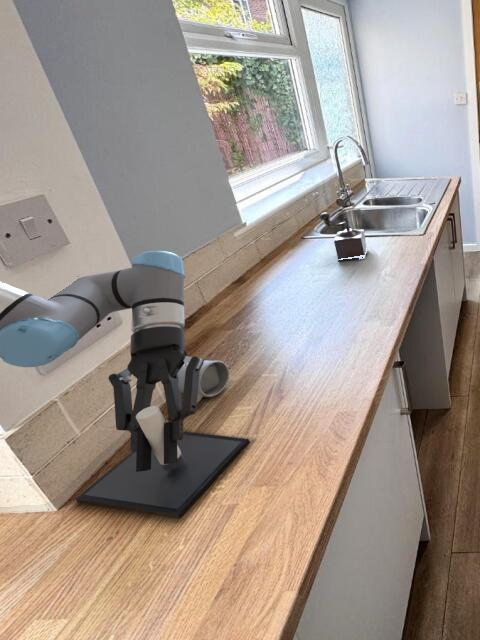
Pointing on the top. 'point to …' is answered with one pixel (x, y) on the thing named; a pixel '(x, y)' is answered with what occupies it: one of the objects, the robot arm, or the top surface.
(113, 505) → the tablet
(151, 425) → the light grey elongated piece
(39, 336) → the robot arm
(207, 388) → the ceramic mug
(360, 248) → the black coffee grinder
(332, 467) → the top surface
